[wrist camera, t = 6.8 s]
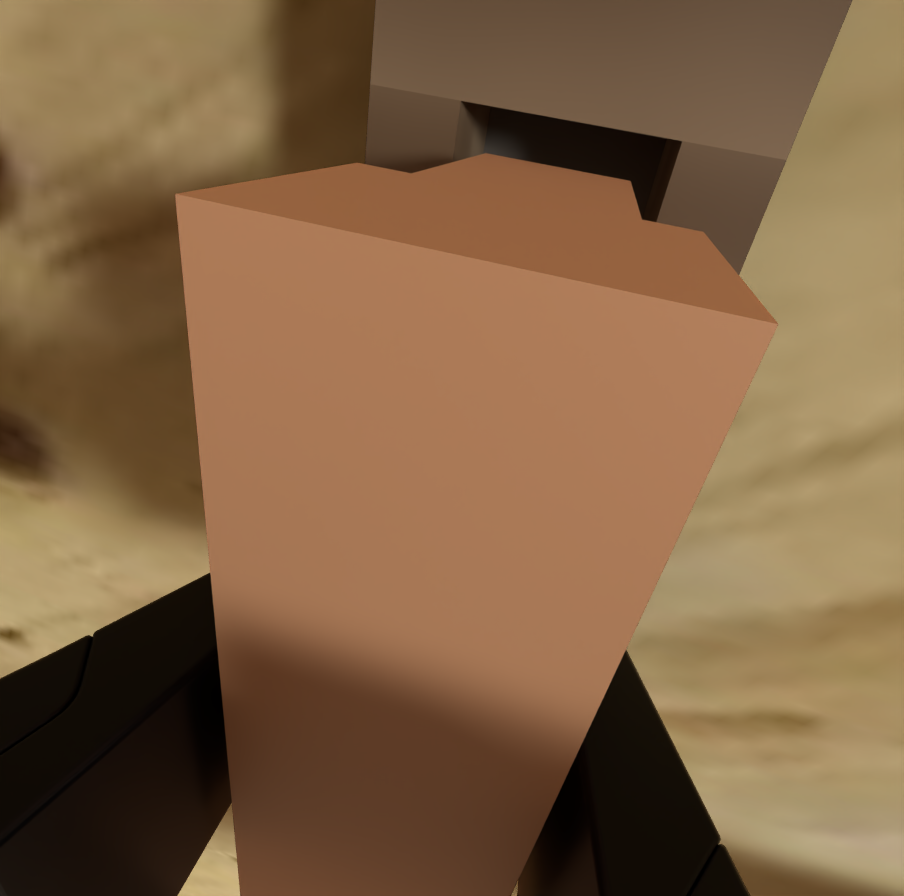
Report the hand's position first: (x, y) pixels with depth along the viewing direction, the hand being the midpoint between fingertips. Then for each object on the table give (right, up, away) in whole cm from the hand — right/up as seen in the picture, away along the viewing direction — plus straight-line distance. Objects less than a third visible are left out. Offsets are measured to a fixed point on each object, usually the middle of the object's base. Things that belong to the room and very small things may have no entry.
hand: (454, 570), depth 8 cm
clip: (+1, +1, +2) cm, 3 cm away
